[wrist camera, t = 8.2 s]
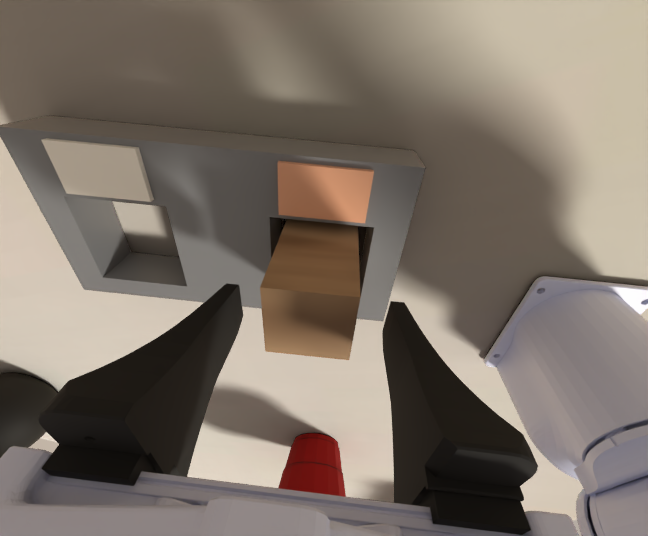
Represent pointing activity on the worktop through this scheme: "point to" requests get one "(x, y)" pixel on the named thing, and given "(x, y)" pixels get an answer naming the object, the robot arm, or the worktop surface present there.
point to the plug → (312, 290)
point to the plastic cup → (314, 466)
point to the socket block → (210, 202)
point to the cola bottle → (21, 409)
